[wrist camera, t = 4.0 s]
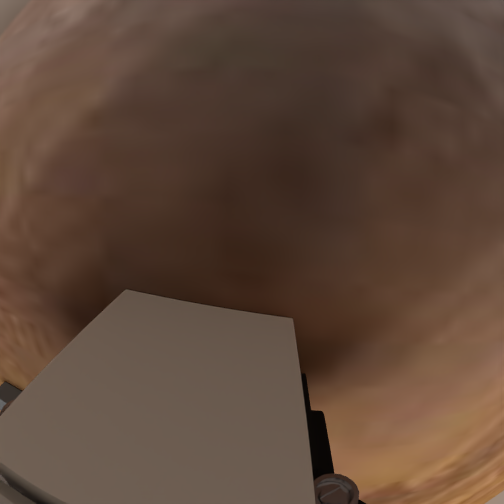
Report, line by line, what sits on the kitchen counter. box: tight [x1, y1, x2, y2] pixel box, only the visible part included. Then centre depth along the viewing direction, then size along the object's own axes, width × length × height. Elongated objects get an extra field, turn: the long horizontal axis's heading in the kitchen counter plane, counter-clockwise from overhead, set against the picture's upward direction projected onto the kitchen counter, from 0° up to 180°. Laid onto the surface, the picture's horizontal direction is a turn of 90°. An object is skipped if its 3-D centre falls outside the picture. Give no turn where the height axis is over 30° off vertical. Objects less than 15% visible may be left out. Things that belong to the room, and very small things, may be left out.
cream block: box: [0, 289, 315, 504], centre depth 7 cm, size 6×6×8 cm
